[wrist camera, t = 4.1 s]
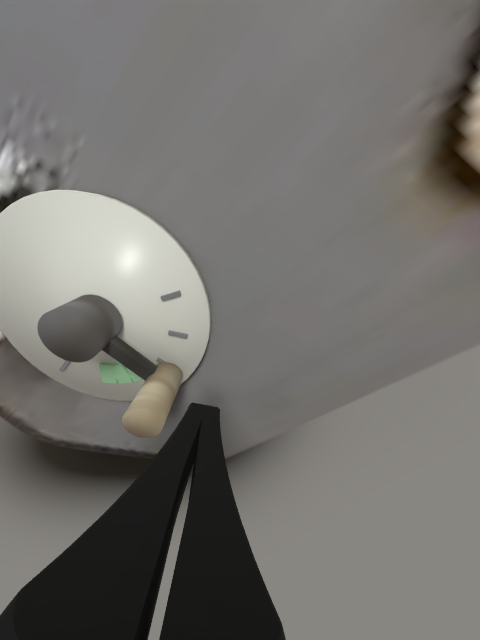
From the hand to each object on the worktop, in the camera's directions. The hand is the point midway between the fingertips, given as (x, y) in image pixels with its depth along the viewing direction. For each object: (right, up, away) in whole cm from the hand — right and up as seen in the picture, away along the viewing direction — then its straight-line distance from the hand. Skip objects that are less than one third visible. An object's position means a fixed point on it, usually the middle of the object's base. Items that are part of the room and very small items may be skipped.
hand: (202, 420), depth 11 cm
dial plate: (-8, +5, +6) cm, 12 cm away
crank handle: (-6, +3, +6) cm, 9 cm away
